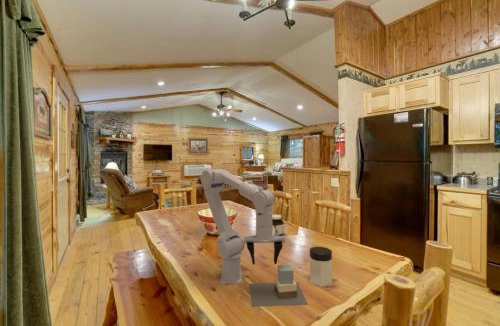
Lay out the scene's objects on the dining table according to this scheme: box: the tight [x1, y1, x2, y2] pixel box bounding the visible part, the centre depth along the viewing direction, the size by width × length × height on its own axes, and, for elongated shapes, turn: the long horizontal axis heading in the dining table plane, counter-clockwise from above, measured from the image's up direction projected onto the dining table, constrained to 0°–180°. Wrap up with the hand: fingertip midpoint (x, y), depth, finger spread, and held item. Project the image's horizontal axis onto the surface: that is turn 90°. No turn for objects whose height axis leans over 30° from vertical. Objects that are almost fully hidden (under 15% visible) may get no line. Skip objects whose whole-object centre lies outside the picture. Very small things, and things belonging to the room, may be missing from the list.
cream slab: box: [274, 276, 297, 292], centre depth 86 cm, size 6×6×2 cm
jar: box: [309, 246, 333, 288], centre depth 94 cm, size 9×8×12 cm
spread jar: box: [272, 214, 285, 236], centre depth 150 cm, size 12×11×12 cm
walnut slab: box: [274, 284, 297, 299], centre depth 86 cm, size 6×6×2 cm
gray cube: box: [277, 264, 294, 284], centre depth 85 cm, size 4×4×4 cm
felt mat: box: [249, 281, 309, 308], centre depth 85 cm, size 14×18×1 cm
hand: (264, 263), depth 87 cm, fingers open, 7 cm apart
